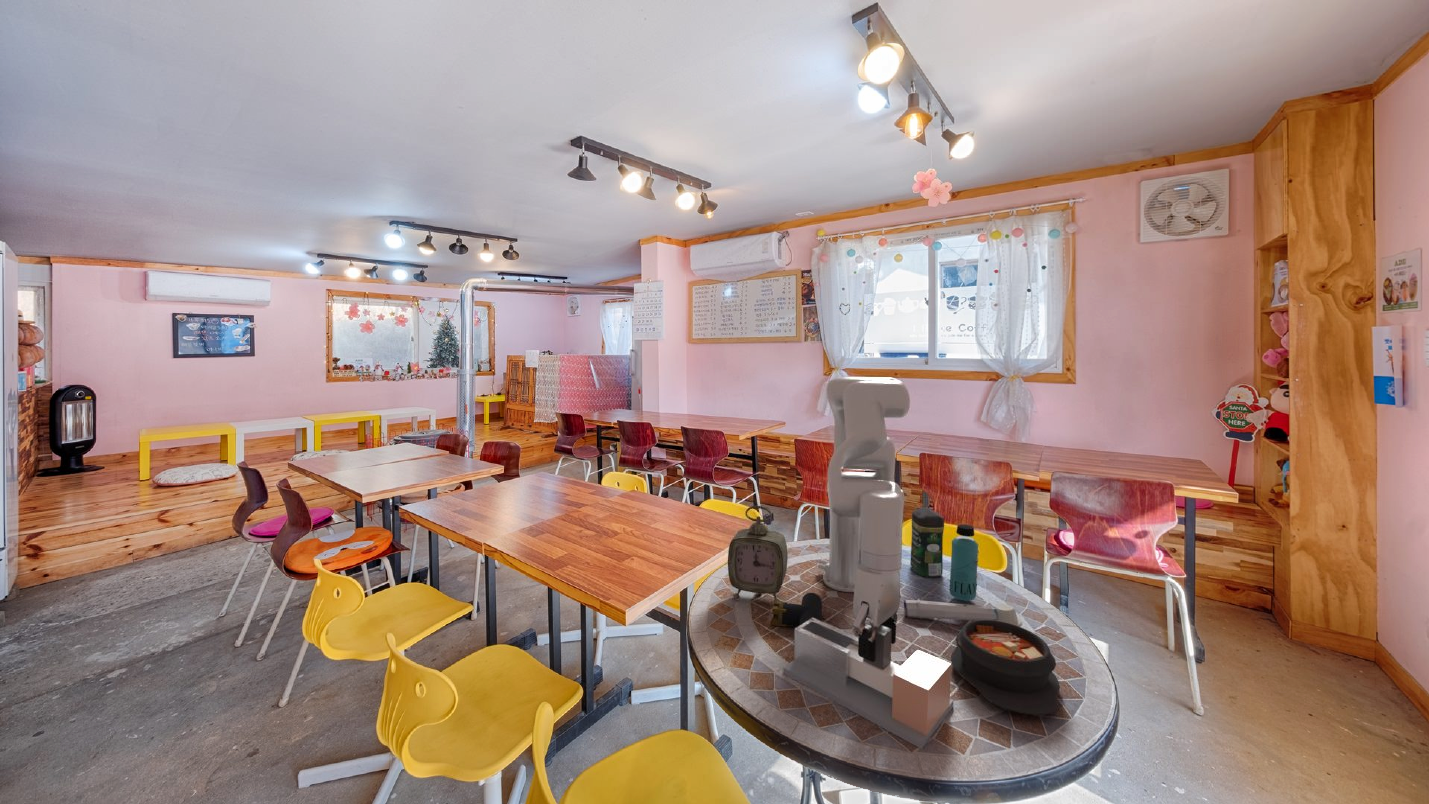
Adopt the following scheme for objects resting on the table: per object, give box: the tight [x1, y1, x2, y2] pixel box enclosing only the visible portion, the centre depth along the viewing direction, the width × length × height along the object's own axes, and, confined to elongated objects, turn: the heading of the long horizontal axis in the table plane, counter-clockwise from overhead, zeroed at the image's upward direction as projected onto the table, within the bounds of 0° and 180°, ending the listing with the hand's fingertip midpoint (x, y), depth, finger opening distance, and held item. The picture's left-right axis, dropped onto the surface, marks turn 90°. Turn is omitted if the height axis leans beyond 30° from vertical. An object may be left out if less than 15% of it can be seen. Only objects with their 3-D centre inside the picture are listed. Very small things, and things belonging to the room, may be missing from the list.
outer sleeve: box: [793, 618, 858, 686], centre depth 102 cm, size 12×6×7 cm, turn 45°
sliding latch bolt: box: [846, 620, 902, 698], centre depth 93 cm, size 16×4×11 cm, turn 45°
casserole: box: [950, 620, 1061, 716], centre depth 99 cm, size 25×19×8 cm
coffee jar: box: [909, 507, 945, 578], centre depth 148 cm, size 10×8×19 cm
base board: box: [782, 659, 954, 750], centre depth 97 cm, size 28×14×1 cm, turn 45°
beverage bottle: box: [949, 523, 979, 602], centre depth 130 cm, size 6×7×20 cm
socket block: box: [892, 649, 952, 736], centre depth 88 cm, size 6×10×8 cm, turn 135°
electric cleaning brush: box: [903, 598, 1023, 628], centre depth 120 cm, size 5×7×25 cm
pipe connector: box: [771, 592, 823, 628], centre depth 120 cm, size 12×5×15 cm
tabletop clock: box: [727, 505, 789, 602], centre depth 132 cm, size 14×9×25 cm, turn 73°
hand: (877, 648), depth 94 cm, fingers open, 7 cm apart
